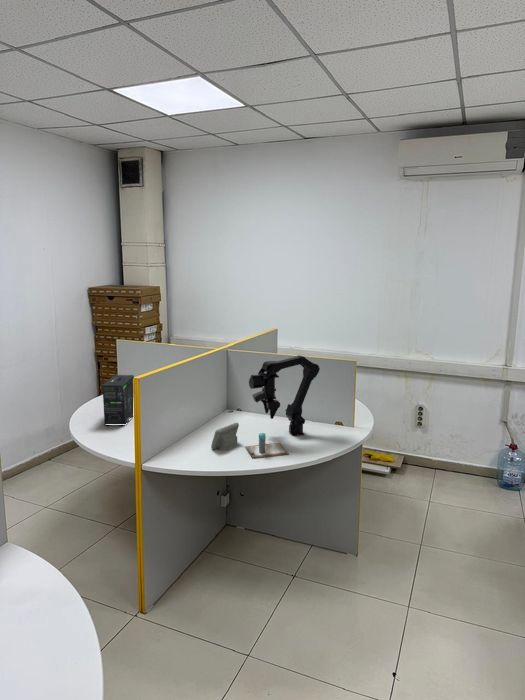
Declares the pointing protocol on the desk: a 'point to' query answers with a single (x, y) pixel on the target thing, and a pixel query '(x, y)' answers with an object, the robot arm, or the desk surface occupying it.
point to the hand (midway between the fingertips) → (269, 415)
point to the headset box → (118, 399)
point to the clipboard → (267, 450)
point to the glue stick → (262, 443)
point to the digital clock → (225, 437)
